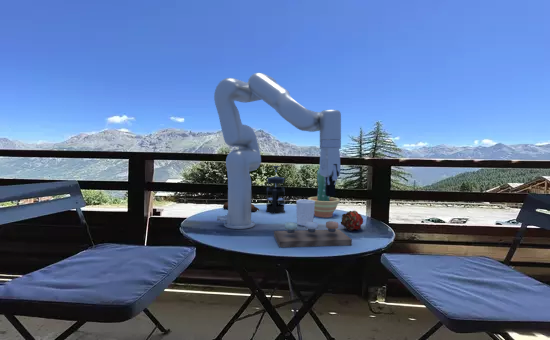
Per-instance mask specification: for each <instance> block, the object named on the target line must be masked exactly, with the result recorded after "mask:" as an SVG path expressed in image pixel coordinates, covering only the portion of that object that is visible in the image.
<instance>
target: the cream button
mask: <svg viewBox="0 0 550 340" xmlns="http://www.w3.org/2000/svg"><path fill="white" fill-rule="evenodd" d="M304 228H305V229H307V230H308V232H311V233H313V232H315V230H319V223H318V222H317V221H313V222H306V226H304Z"/></svg>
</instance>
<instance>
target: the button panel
mask: <svg viewBox="0 0 550 340" xmlns="http://www.w3.org/2000/svg"><path fill="white" fill-rule="evenodd" d="M273 237H274V240H275V241H276V243H277V246H278V247H279V248H280V247H281V248H301V247H302V248H305V247H307V248H308V247H309V248H311V247H336V246H337V247H338V246H340V247H341V246H352V245H353V243H352V242H353V239H352V238H351V237H349V236H348V235H346V233H344V232H343V231H342V230H340V229H338V228H337V229H336V231H335V232H329V231H328V229H315V232H313V233H311V232H308V229H307V230H305V229H304V230H298V229H296V230H295V232H294V233H288V232H287V230H273Z"/></svg>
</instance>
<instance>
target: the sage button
mask: <svg viewBox="0 0 550 340" xmlns="http://www.w3.org/2000/svg"><path fill="white" fill-rule="evenodd" d="M284 229H285V230H286V231H287V232H288V233H294V232H295V231H296V230H298V224H297V222H293V221H288V222H285V223H284Z"/></svg>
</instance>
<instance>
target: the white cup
mask: <svg viewBox="0 0 550 340" xmlns="http://www.w3.org/2000/svg"><path fill="white" fill-rule="evenodd" d="M295 202H296V205H295V206H296V223H297V226H301V227H305V226H306V222H314V217H315V215H314V208H315V201H313V200H308V199H298V200H296V201H295Z"/></svg>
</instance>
